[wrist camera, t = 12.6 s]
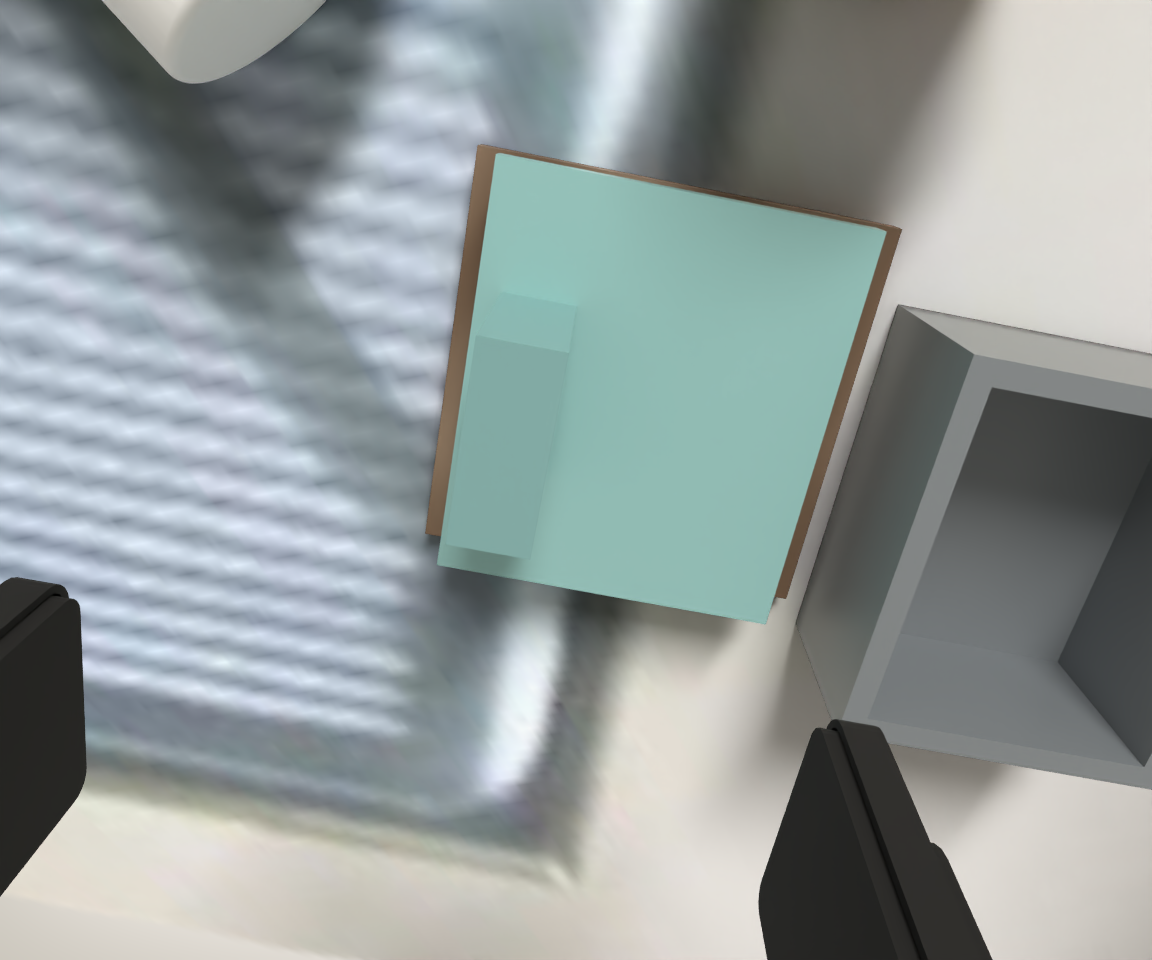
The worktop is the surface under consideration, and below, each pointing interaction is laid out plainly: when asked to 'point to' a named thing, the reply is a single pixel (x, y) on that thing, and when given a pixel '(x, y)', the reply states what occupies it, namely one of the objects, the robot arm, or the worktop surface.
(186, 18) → the mug
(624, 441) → the lid
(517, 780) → the worktop surface
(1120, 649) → the tub
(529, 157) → the board
